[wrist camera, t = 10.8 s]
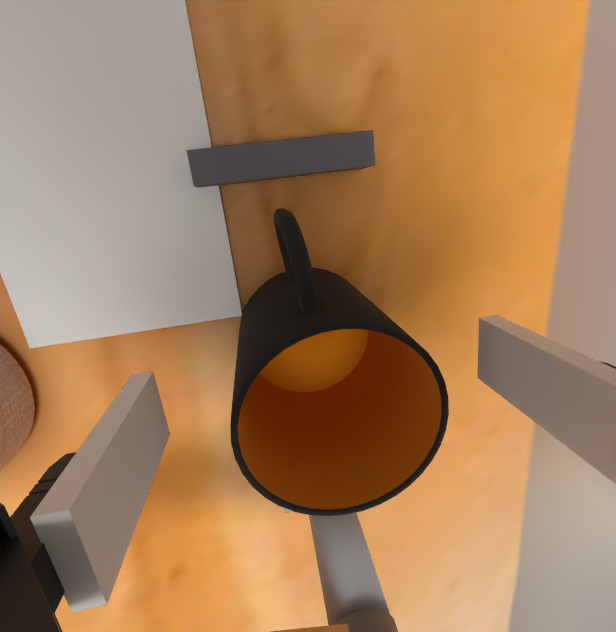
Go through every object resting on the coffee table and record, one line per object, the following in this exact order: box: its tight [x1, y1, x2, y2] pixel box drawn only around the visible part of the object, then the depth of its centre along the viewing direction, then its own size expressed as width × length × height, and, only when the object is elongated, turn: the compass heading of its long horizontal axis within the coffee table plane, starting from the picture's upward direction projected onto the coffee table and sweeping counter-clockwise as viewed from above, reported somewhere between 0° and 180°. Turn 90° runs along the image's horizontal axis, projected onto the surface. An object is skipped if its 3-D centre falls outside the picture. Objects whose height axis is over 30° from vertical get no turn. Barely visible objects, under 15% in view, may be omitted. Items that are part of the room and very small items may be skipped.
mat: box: [0, 0, 242, 348], centre depth 19 cm, size 16×12×1 cm
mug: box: [231, 209, 449, 516], centre depth 18 cm, size 8×12×10 cm
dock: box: [186, 130, 390, 626], centre depth 19 cm, size 24×9×11 cm, turn 7°
